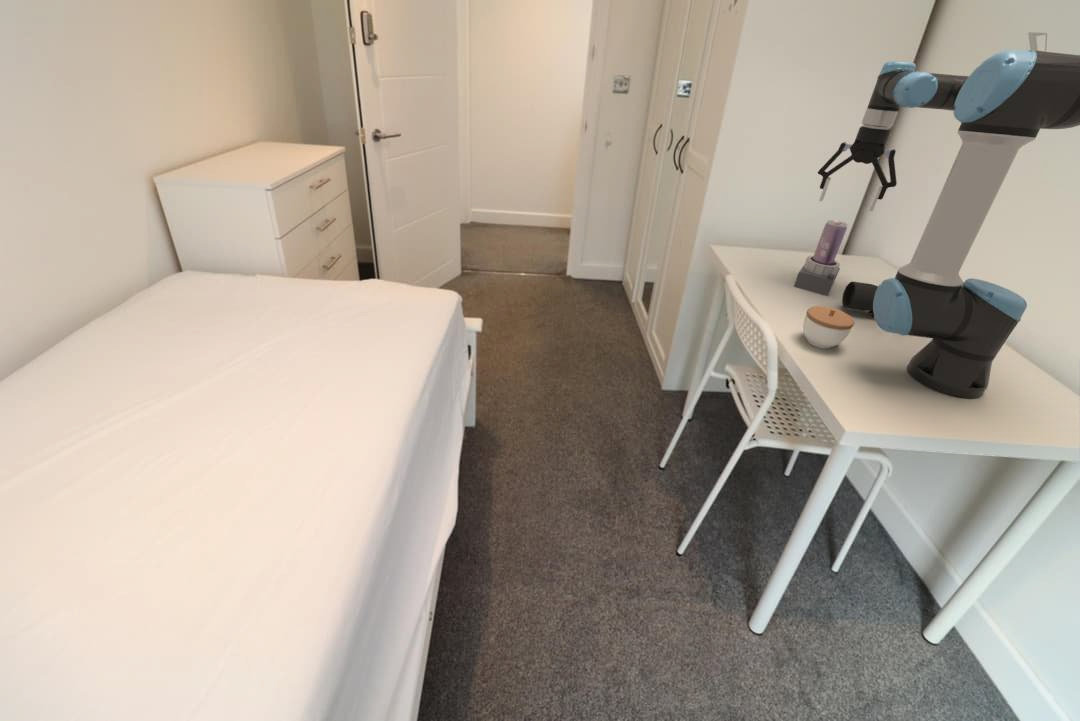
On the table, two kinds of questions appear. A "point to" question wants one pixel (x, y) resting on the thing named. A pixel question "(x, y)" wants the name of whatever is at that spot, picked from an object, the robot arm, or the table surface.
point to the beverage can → (829, 242)
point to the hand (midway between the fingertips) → (845, 205)
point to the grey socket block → (817, 276)
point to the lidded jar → (826, 326)
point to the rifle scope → (859, 296)
